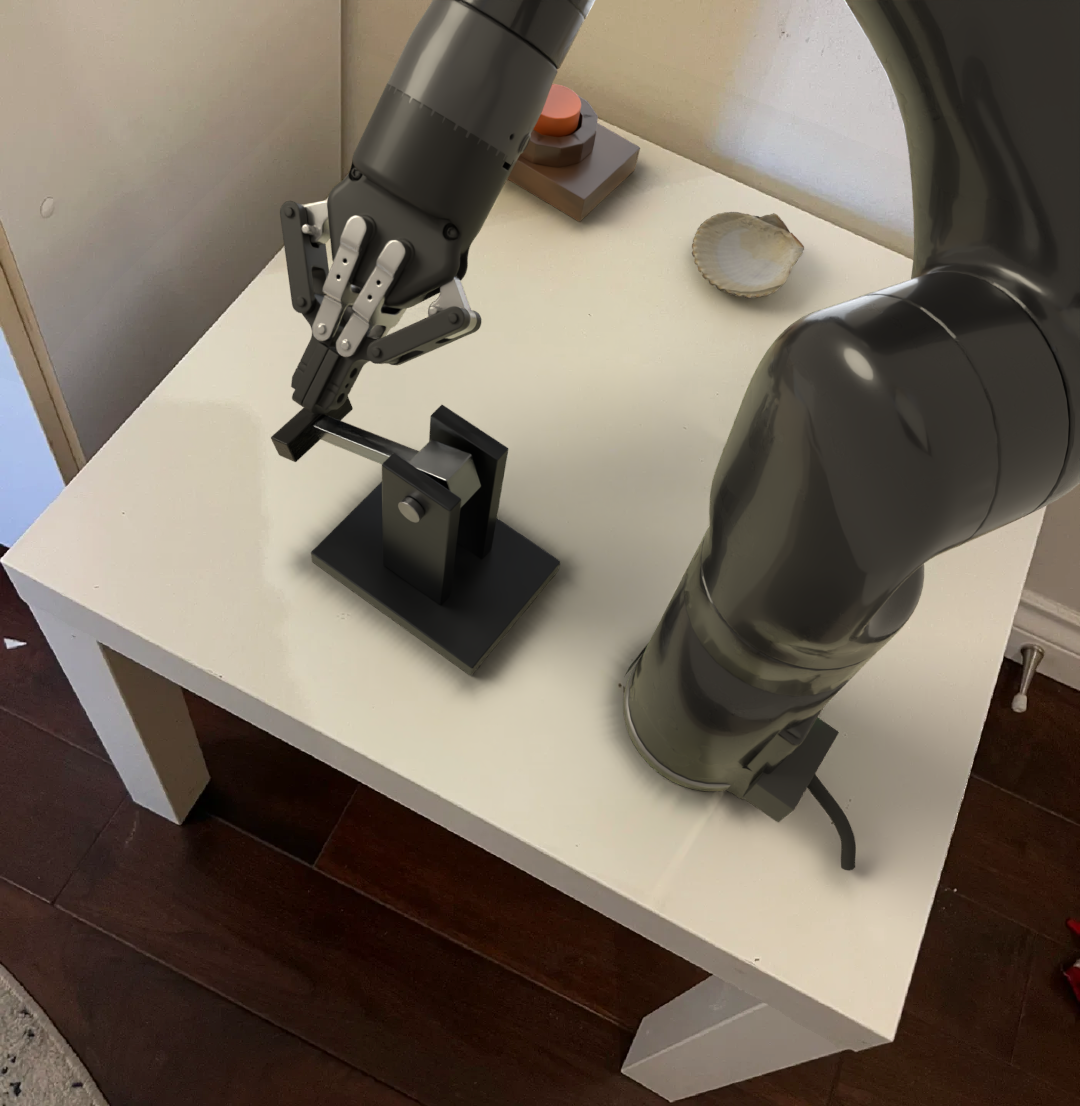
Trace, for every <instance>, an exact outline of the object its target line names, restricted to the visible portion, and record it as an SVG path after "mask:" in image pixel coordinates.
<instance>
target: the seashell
mask: <svg viewBox="0 0 1080 1106" xmlns="http://www.w3.org/2000/svg"><path fill="white" fill-rule="evenodd" d="M691 250H692V252H691V255H692V257H693V258H694V259H693V262H694V264H695V265H697V270H698V272H699V273H701V276H702V278H704V279H705V280H707V281H708V284H709V285H711V286H715V288H716V289H717V290H718V291H721V292H725V294H728V295H734V296H736V297H738V298H741V297H744V298H746V299H751V298H760V297H763V296H765V297H766V296H769V295H770V294H775V293H776V292H777V291H778V290H779V289H780V288H782V287H783V286H784V285H785V283H786V281H787V280H788V278H789V275H790V274H791V270H792V268H793V266H794V265H795V264H796V263H797V262H798V260H799V258H800V257H801V256H802V255H803V254H804V251H805V246H804V245H803V243H802V242H801V241H800V240H799V239H798V237H797V236H795V235H794V234H793V232H791V231H790V230H789V228H788V226H787V224H786V223H785V222H784V221H783V219H781V217H780V216H779V215H778V214H777V213H770V214H765V215H763V216H759V215H753V214H749V213H742V212H738V211H728V212H727V211H726V212H724V211H723V212H720V213H716V214H714V215H712V216H710V217H709V218H707V219H705V220H704V221H703V222H702V223H700V226H698V228H697V230H696V232H695V233H694V237H693V239H692V244H691Z"/></svg>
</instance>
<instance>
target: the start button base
mask: <svg viewBox="0 0 1080 1106" xmlns="http://www.w3.org/2000/svg"><path fill="white" fill-rule="evenodd" d="M578 97H579V98H580V101H581V110H580V116H579V121H578V126H577V128H576V130H575V131H574V132H573V133H572V134H570V135H568V136H563V137H553V136H547V135H542V134H540V133H538V132H537V131H535V130H533V131H532V133H531V138H530V141H529V143H528V145H527V147H526V149H525V150H524V152H523V153H522V154H520V156H519V157H518V159H517V161H516V163H515V165H514V167H513V169H512V171H511V173H510V175H509V177H508V178H507V180H508V181H511V182H512V183H513V184H515V185H517V186H519V188H522V189H523V190H525V191H527V192H528V193H530V194H533V195H534V196H536V197H537V198H539V199H540V200H542V201H544V202H545V203H547V204H549V205H551V206H552V207H554V208H555V209H557V210H559V211H561V212H562V213H564V214H566V215H567V216H568V217H570V218H572V219H574V220H576V221H577V222H579V223H581V222H582V221H583V220H584V219H585V218H586V217H587V216H588V215H589V214H590V213H591V212H592V211H594V209H595V208H596V207H597V206H598V205H600V203H602V202H603V200H605V199H606V198H607V197H608V196H609V195H610V194H611V193H612V192H613V191H614V190H615V189H616V188H617V187H619V185H620V184H621V183H622V182H624V181H625V180H626V179H627V178H628V177H629V176H630V175H631V174H632V173H633V172H635V170H636V166H637V162H638V159H639V154H640V152H641V146H638V145H637V144H635V143H634V142H632V141H630V140H628V139H626V138H625V137H622V136H621V135H619V134H617V133H616V132H615V131H612V130H611V129H609V128H607V127H606V126H604V125H601V124H600V123H598V121H599V119H598V118H599V116H598V114H597V112H596V111H595V110H594V108H593V107H592V105H591V104H590V103H589V101H588V100H587V99H585V98H583V97H581V96H580V95H578Z"/></svg>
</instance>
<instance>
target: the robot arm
mask: <svg viewBox="0 0 1080 1106" xmlns="http://www.w3.org/2000/svg"><path fill="white" fill-rule="evenodd" d="M595 2H596V0H431V2H430V4H429V5H428V7H427V9H426V10H425V12H424V13H423V15H422V16H421V18H420V19H419V20H418V22H417V23H416V25H415V26H414V29H413V30H412V32H411V34H410V35H409V37H408V39H407V41H406V43H405V45H404V47H403V49H402V51H401V54H400V55H399V57H398V60H397V62H396V63H395V66H394V68H393V70H392V72H391V75H390V76H389V78H388V80H387V82H386V85H385V87H384V89H383V91H382V93H381V95H380V97H379V99H378V102H377V104H376V106H375V108H374V110H373V112H372V114H371V116H370V118H369V120H368V122H367V125H366V127H365V129H364V131H363V133H362V135H361V137H360V139H359V141H358V143H357V146H356V148H355V150H354V152H353V154H352V157H351V164H350V165H351V166H350V169H349V172H348V173H347V175H345V177H344V178H343V179H342V180H341V181H340V182H338V183H337V184H336V185H334V186H333V187H332V189H331V190H330V191H329V193H328V196H327V199H325V200H318V201H315V202H309V203H305V204H302V203H299V202H296V201H293V200H286V201H285V202H283V203H282V205H280V208H279V217H280V225H281V233H282V240H283V248H284V255H285V262H286V269H287V276H288V277H287V278H288V285H289V292H290V299H291V305H292V308H293V310H294V311H295V312H296V313H298V314H302V316H303V317H304V319H305V320H306V322H307V323H308V324H309V326H310V330H311V337H310V340H309V342H308V344H307V346H306V348H305V350H304V352H303V354H302V356H301V358H300V361H299V362H298V364H297V367H296V368H295V370H294V372H293V374H292V376H291V383H290V387H291V388H292V389H294V390H293V392H292V394H291V400H292V401H293V402H295V403H296V404H297V405H298V406H300V407H302V408H305V409H307V410H308V411H309V412H311V413H312V414H327V413H328V412H329V411H330V410H333V409H338V408H340V407H341V406H342V405H343V404H344V403H345V401H346V399H347V397H348V398H349V395H350V393H351V392H352V389H353V387H354V385H355V384H356V381H357V379H358V377H359V376H360V374H361V372H362V370H363V368H364V366H365V365H366V364H367V363H369V362H371V363H372V364H376V365H383V364H385V365H386V364H387V365H391V366H401V365H403V364H405V363H408V362H410V361H413V360H414V359H416V358H419V357H422V356H424V355H426V354H428V353H431V352H433V351H435V350H438V349H440V348H442V347H444V346H446V345H449V344H452V343H453V342H455V341H458V340H460V339H463V338H465V337H467V336H469V335H471V334H474V333H476V332H478V331H479V330H480V329H481V326H482V317H481V315H480V313H479V312H477V311H476V310H473V309H472V308H471V305H470V302H469V299H468V297H467V294H466V291H465V289H464V286H463V282H462V281H463V280H464V278H465V277H466V274H467V271H468V266H469V252H470V248H471V246H472V243H473V242H474V240H475V239H476V237H477V236H478V235H479V233H480V231H481V230H482V228H483V226H484V224H485V222H486V220H487V218H488V216H489V215H490V212H491V211H492V209H493V207H494V205H495V203H496V201H497V199H498V197H499V196H500V194H501V192H502V190H503V188H504V186H505V185H506V182H507V180H508V179H507V178H508V177H509V175H510V173H511V171H512V169H513V167H514V165H515V163H516V161H517V159H518V157H519V156H520V154H522V153H523V152H524V150H525V149H526V147H527V145H528V143H529V141H530V138H531V133H532V131H533V129H534V127H535V125H536V123H537V121H538V119H539V117H540V115H541V113H542V110H543V108H544V105H545V102H546V100H547V97H548V94H549V91H550V89H551V86H552V84H554V81H555V79H556V77H557V75H558V70H559V69H560V68H561V67H562V66H563V64H564V61H565V59H566V57H567V55H568V53H569V51H570V49H571V47H572V46H573V44H574V42H575V40H576V38H577V36H578V34H579V32H580V31H581V28H582V27H583V25H584V23H585V20H586V19H587V17H588V15H589V13H590V12H591V9H592V7H593V6H594V4H595ZM843 2H844V3H845V5H846V7H847V8H848V10H849V11H850V13H851V14H852V17H853V18H854V20H855V21H856V23H857V25H858V26H859V27H860V29H861V32H863V35H864V36H865V37H866V39H867V41H868V43H869V44H870V47H871V48H872V50H873V52H874V54H875V56H876V59H878V61H879V63H880V65H881V67H882V69H883V71H884V73H885V75H886V78H887V80H888V83H889V86H890V88H891V90H892V93H893V95H894V98H895V100H896V103H897V107H898V111H899V114H900V117H901V122H902V125H903V131H904V136H905V142H906V148H907V153H908V163H909V164H908V165H909V173H910V183H911V198H912V214H913V216H912V217H913V218H912V219H913V220H912V221H913V224H912V225H913V250H912V251H913V253H912V254H913V255H912V267H911V274H910V279H908V280H907V279H906V280H905V281H902V282H899V283H895V284H893V285H890V286H886V287H883V288H880V289H877V290H874V291H871V292H868V293H865V294H862V295H859V296H857V297H853V298H850V299H847V300H845V301H844V300H843V301H842V302H839V303H835V304H832V305H830V306H826V307H824V308H821V309H817V310H816V311H813V312H810V313H808V314H805V315H804V316H801V317H800V318H798V319H797V320H796V321H793V322H792V323H791V324H790V325H789V326H787V327H786V328H785V329H784V330H783V331H782V332H781V333H780V334H779V335H778V337H776V339H775V340H773V342H772V343H771V345H770V346H769V348H768V349H767V350H766V352H765V354H763V356H762V358H761V360H760V361H759V363H758V365H757V367H756V369H755V371H754V373H753V374H752V376H751V379H750V381H749V384H748V386H747V388H746V390H745V393H744V395H743V398H742V401H741V403H740V406H739V408H738V410H737V413H736V416H735V417H734V420H733V423H732V426H731V429H730V431H729V434H728V436H727V439H726V441H725V445H724V447H723V450H722V452H721V455H720V458H719V460H718V463H717V465H716V468H715V471H714V473H713V478H712V480H711V481H712V482H711V486H710V493H709V502H708V503H709V505H708V506H709V507H708V508H709V509H708V527H707V529H706V531H705V533H704V535H703V537H702V539H701V541H700V543H699V545H698V547H697V549H696V550H695V552H694V554H693V557H692V558H691V560H690V561H689V564H688V566H687V568H686V570H685V572H684V574H683V576H682V577H681V579H680V581H679V583H678V585H677V586H676V589H675V591H674V593H673V595H672V596H671V599H670V601H669V602H668V605H667V606H666V608H665V610H664V612H663V614H662V616H661V618H660V620H659V622H658V624H657V625H656V627H655V629H654V630H653V631H654V632H653V633H652V635H651V637H650V639H649V641H648V643H647V644H646V645H645V646H644V648H643V649H642V650H641V651H640V653H638V655H637V657H636V658H635V659H633V662H632V663H631V664H630V665H629V666H628V668H627V670H626V673H625V674H624V676H623V678H625V676H627V674H628V673H629V672H630V670H631V669H632V668H633V669H632V671H631V672H630V674H629V677H628V679H627V681H626V684H625V688H624V693H623V699H622V700H623V702H622V704H623V707H622V709H623V710H622V711H623V717H624V723H625V727H626V730H627V733H628V735H629V738H630V740H631V743H632V744H633V746H634V747H635V749H636V750H637V752H638V753H639V755H640V756H641V758H643V760H644V761H645V763H647V764H648V765H649V766H650V767H651V768H652V769H654V771H656V773H658V774H660V775H661V776H662V777H664V778H666V779H667V780H668V781H671V782H673V783H675V784H677V785H679V786H682V787H685V788H687V789H691V790H696V791H702V792H722V791H727V792H729V793H731V794H732V795H734V796H736V797H737V798H738V799H741V800H744V801H746V802H748V803H749V804H751V805H752V806H753V807H755V808H756V809H758V810H759V811H761V812H762V813H763V814H765V815H766V816H768V817H769V818H770V819H772V820H773V821H775V822H776V823H780V822H781V821H782V820H784V819H785V818H786V817H787V816H788V815H789V814H791V813H792V812H794V810H795V809H796V807H797V806H798V804H799V803H800V801H801V799H802V798H803V796H804V794H805V792H806V791H807V790H808V791H809V792H810V793H811V795H812V796H813V797H814V798H815V800H816V801H817V802H818V804H819V805H820V806H821V807H822V809H823V810H824V811H825V813H826V815H828V817H829V818H830V820H831V822H832V823H833V825H834V827H835V829H836V831H837V833H838V836H839V839H840V868H841V869H842V870H844V871H848V872H849V871H850V872H851V871H854V870H855V868H856V855H857V854H856V853H857V846H856V845H857V844H856V838H855V834H854V831H853V827H852V825H851V823H850V821H849V819H848V817H847V815H846V813H845V812H844V810H843V809H842V807H841V806H840V804H839V803H838V802H837V800H836V799H835V798H834V797H833V795H832V794H831V793H830V792H829V790H828V789H827V788H826V786H825V785H824V784H823V783H822V781H821V780H820V779H819V777H818V776H817V774H816V773H817V772H818V771H819V770H818V769H820V766H821V764H822V763H823V761H824V760H825V757H826V756H827V754H828V752H829V751H830V749H831V747H832V745H833V744H834V742H835V740H836V738H837V737H838V735H839V730H837V729H836V728H835V727H833V726H831V725H830V724H828V723H827V722H826V721H824V720H823V719H821V718H819V716H820V715H821V712H822V711H823V709H824V708H825V707H826V705H827V704H828V703H829V702H830V701H831V700H832V699H833V698H834V697H835V696H836V695H837V694H838V693H839V692H841V690H842V688H844V687H845V686H846V685H847V683H849V682H850V680H851V679H853V677H854V676H856V675H857V673H858V672H860V670H861V669H863V667H864V666H865V665H867V664H868V662H869V661H870V660H871V659H872V658H873V657H874V656H875V655H876V654H877V653H878V652H879V651H881V649H883V647H885V646H886V645H887V644H888V643H889V642H890V641H891V640H892V639H893V638H894V637H895V636H896V635H897V634H898V633H899V632H900V631H901V630H902V628H903V627H904V626H905V625H906V624H907V623H908V621H909V620H910V619H911V617H912V616H913V614H914V612H915V610H916V609H917V607H918V605H919V602H920V599H921V596H922V592H923V588H924V584H925V583H924V581H925V564H926V563H927V562H928V561H930V560H932V559H933V558H935V557H937V556H939V555H942V554H944V553H946V552H948V551H950V550H954V549H955V548H958V547H960V546H962V545H964V544H967V543H970V542H972V541H973V540H976V539H978V538H980V537H982V536H984V535H985V536H986V535H987V534H989V533H992V532H993V531H997V530H999V529H1001V528H1004V527H1005V526H1007V525H1009V524H1012V523H1014V522H1017V521H1018V520H1021V519H1022V518H1025V517H1028V516H1029V515H1031V514H1033V513H1035V512H1037V511H1039V510H1040V509H1043V508H1045V507H1047V506H1049V505H1051V504H1053V503H1055V502H1057V501H1058V500H1060V499H1061V498H1063V497H1064V496H1066V495H1067V494H1069V493H1070V492H1072V491H1073V490H1074V489H1076V487H1078V486H1079V485H1080V0H843ZM329 240H330V251H331V259H332V264H331V265H330V267H329V260H328V259H329V258H328V252H327V244H326V243H328V242H329ZM436 295H438V296H437V298H436V299H435V300H434V301H432V302H431V303H430V304H429V306H428V308H427V315H428V316H427V317H425V318H422V319H420V320H418V321H416V322H414V323H412V324H408V325H407V326H404V327H402V328H400V329H397V330H396V331H393V332H391V333H389V332H390V331H391V329H393V328H395V327H396V326H397V325H398V324H399V322H400V321H401V319H402V317H403V315H404V314H405V313H406V311H407V309H409V308H413V307H415V306H416V305H418V304H421V303H422V302H424V301H427V300H428V299H431V298H432V297H435V296H436ZM388 333H389V334H388ZM633 666H634V667H633Z"/></svg>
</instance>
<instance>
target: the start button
mask: <svg viewBox="0 0 1080 1106" xmlns="http://www.w3.org/2000/svg"><path fill="white" fill-rule="evenodd" d="M578 96H579V95H578V94H577V93H576V91H574V90H573V89H572V88H569V87H567V86H565V85H561V84H557V83H553V84H552V86H551V89H550V91H549V94H548V97H547V100H546V102H545V105H544V108H543V110H542V113H541V115H540V117H539V119H538V121H537V123H536V125H535V127H534V129H533V130H535V131H537V132H538V133H540V134H542V135H547V136H553V137H563V136H568V135H570V134H572V133H573V132H574V131H575V130H576V128H577V126H578V121H579V116H580V110H581V101H580V98H579V97H578Z"/></svg>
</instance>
